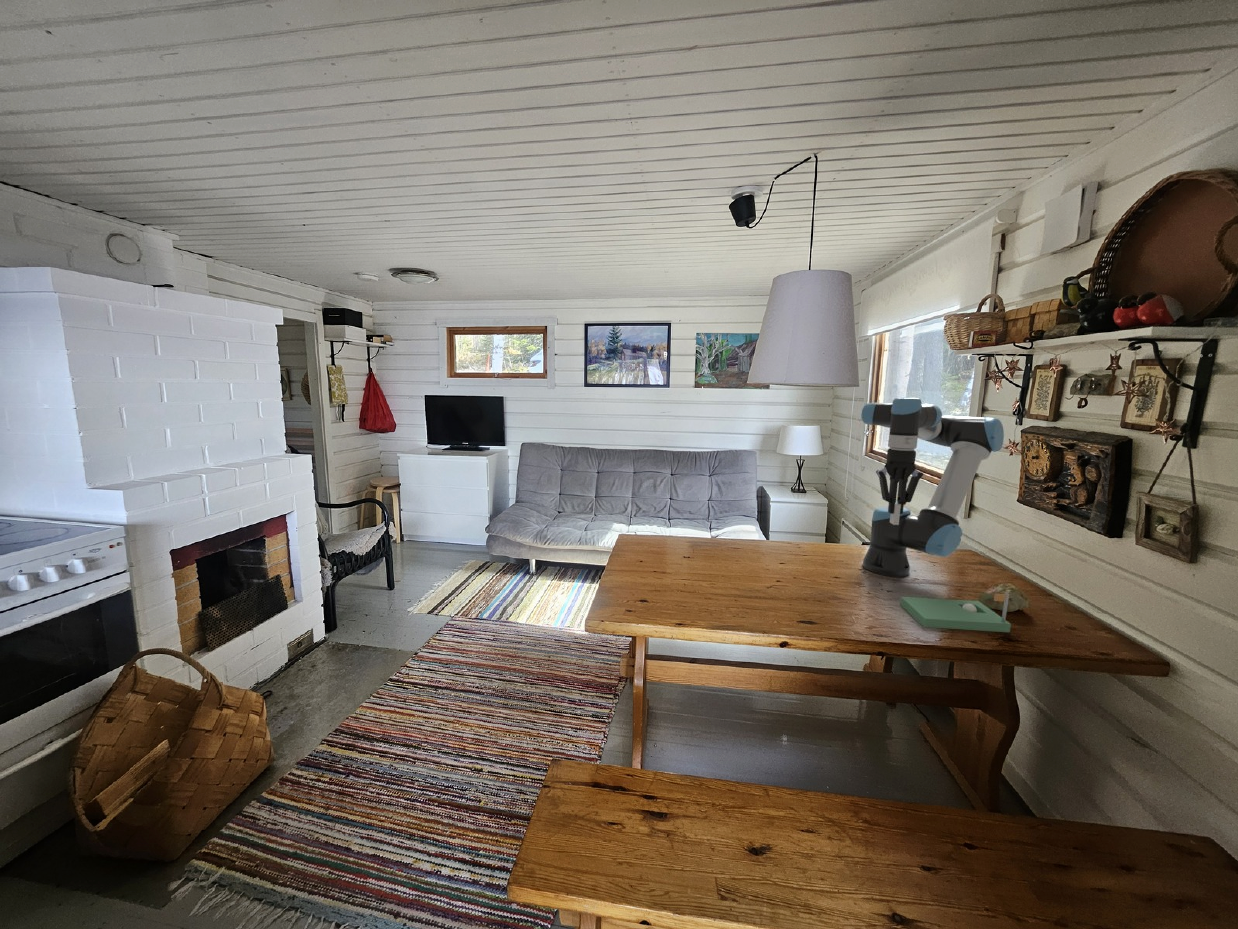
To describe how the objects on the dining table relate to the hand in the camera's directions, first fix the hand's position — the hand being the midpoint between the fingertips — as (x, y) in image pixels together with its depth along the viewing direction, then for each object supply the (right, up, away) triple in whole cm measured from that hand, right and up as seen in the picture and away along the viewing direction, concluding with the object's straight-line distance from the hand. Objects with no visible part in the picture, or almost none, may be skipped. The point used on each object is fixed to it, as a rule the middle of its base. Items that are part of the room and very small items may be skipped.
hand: (894, 523), depth 145 cm
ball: (+17, -24, -9) cm, 31 cm away
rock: (+31, -26, -2) cm, 40 cm away
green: (+11, -26, -9) cm, 30 cm away
